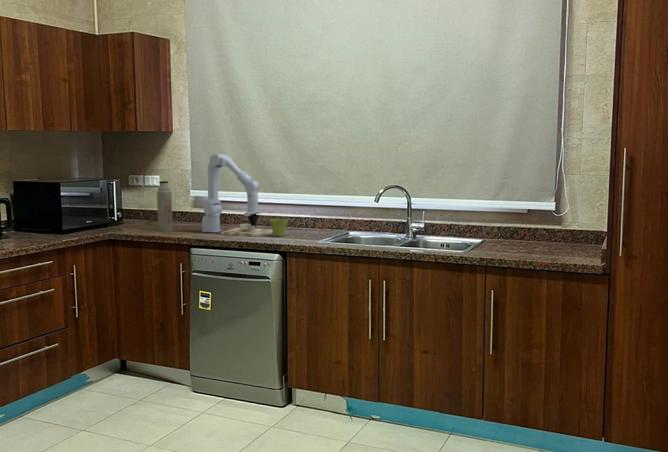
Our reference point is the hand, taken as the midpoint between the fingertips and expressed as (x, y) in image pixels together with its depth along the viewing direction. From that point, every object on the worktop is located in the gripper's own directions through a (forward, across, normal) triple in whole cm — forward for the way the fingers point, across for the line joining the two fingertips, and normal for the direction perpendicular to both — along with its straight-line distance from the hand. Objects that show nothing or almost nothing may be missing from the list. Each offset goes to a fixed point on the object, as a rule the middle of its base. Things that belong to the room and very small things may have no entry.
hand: (253, 228), depth 367 cm
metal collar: (+2, +1, +5) cm, 6 cm away
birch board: (+3, +1, +4) cm, 6 cm away
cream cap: (+1, 0, +3) cm, 3 cm away
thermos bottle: (+3, -5, +54) cm, 55 cm away
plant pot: (+4, 0, -16) cm, 16 cm away
